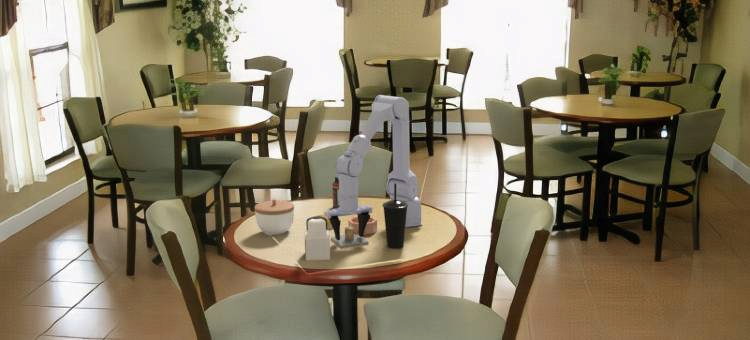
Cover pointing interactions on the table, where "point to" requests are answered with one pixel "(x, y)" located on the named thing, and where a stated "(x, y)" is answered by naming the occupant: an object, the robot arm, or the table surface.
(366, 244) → the mat
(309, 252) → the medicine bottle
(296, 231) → the table surface
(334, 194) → the supplement bottle
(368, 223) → the bowl
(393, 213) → the drinking cup
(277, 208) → the lidded bowl
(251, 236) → the table surface
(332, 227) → the bread roll
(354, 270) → the table surface
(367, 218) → the robot arm
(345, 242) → the lid
